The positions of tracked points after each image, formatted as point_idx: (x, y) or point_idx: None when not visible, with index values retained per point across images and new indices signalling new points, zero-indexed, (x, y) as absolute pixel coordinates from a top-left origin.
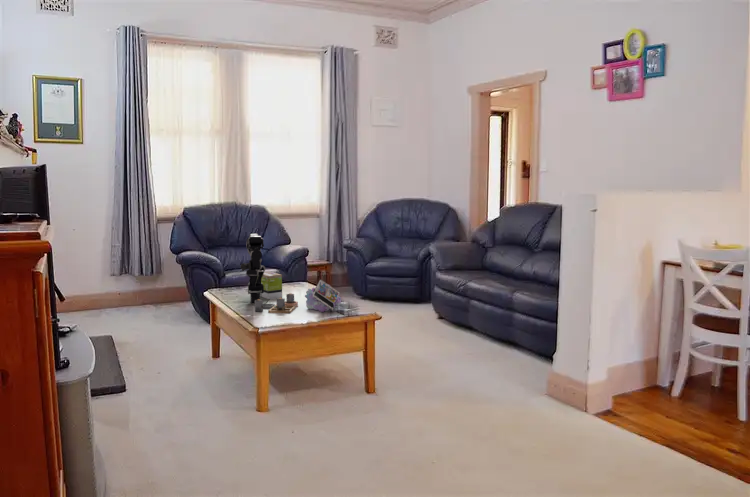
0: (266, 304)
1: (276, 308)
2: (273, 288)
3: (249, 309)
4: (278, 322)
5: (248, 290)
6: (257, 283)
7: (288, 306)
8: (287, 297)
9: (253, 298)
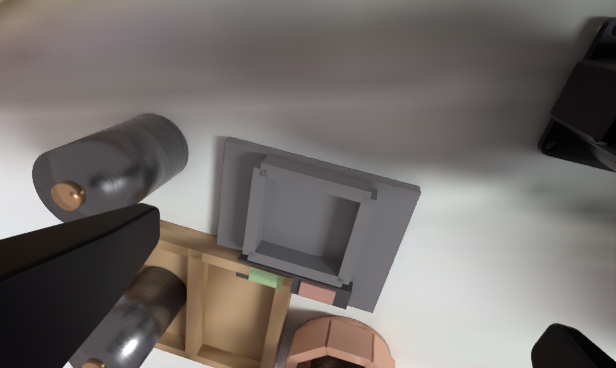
0: (354, 223)
1: (188, 278)
2: None
3: (291, 52)
4: None
5: None
6: (560, 329)
7: (263, 350)
8: None
9: (598, 99)
